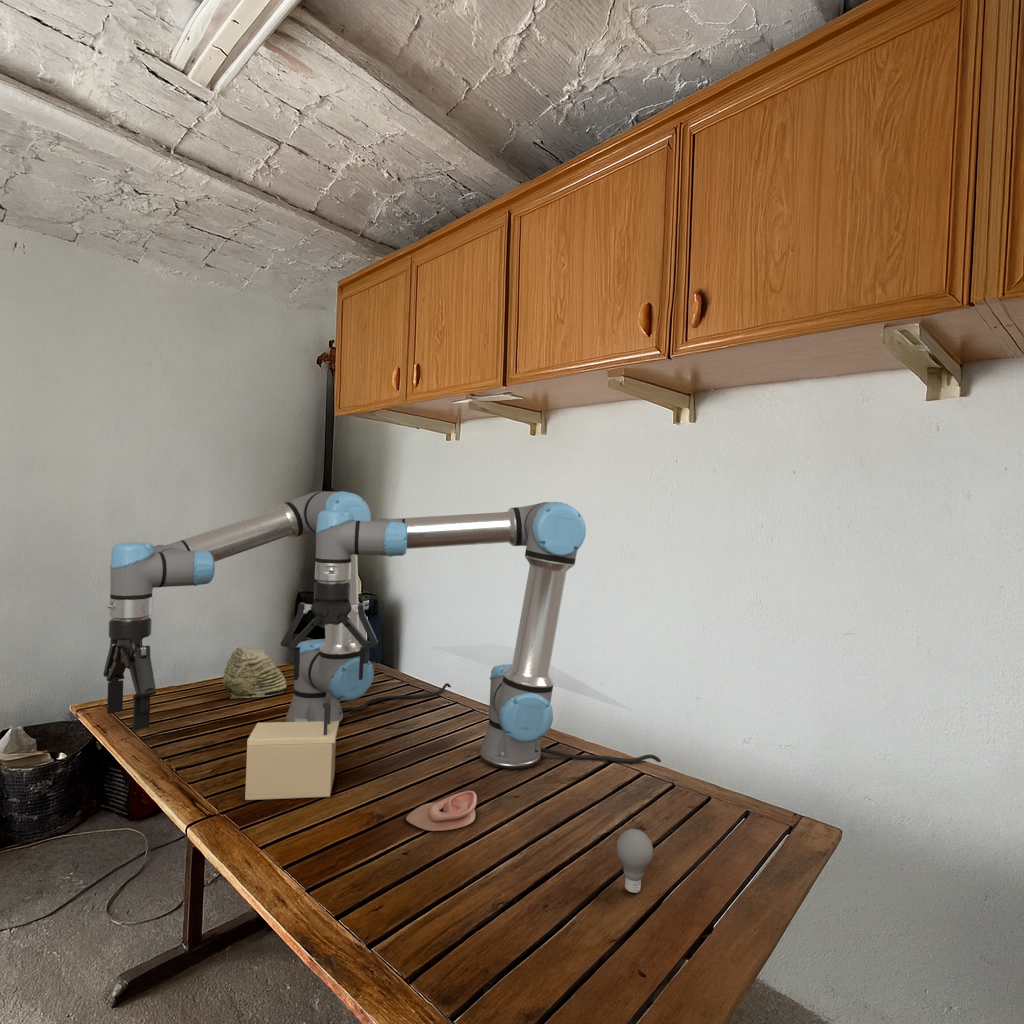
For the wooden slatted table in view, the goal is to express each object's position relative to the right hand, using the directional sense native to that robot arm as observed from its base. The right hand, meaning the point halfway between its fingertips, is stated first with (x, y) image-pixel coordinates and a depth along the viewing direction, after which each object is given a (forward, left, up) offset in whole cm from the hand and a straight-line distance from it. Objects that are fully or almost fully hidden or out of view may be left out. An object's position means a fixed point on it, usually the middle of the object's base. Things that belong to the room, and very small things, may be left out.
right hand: (328, 678), depth 138 cm
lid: (+6, -2, -12) cm, 14 cm away
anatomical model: (-20, +22, -24) cm, 38 cm away
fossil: (+12, -71, -24) cm, 75 cm away
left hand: (+39, -9, -8) cm, 41 cm away
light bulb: (-42, +55, -24) cm, 74 cm away
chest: (+7, -2, -24) cm, 25 cm away
